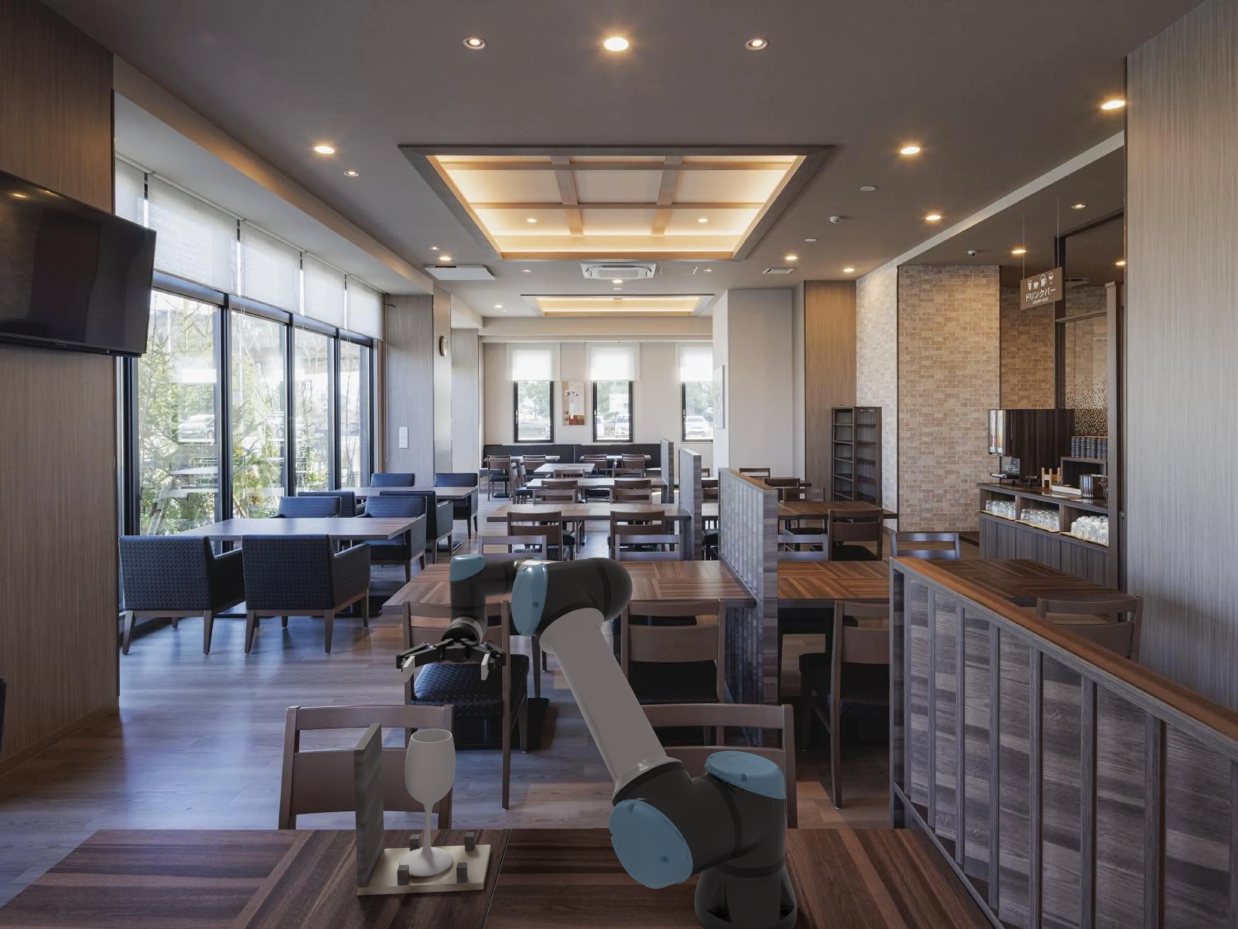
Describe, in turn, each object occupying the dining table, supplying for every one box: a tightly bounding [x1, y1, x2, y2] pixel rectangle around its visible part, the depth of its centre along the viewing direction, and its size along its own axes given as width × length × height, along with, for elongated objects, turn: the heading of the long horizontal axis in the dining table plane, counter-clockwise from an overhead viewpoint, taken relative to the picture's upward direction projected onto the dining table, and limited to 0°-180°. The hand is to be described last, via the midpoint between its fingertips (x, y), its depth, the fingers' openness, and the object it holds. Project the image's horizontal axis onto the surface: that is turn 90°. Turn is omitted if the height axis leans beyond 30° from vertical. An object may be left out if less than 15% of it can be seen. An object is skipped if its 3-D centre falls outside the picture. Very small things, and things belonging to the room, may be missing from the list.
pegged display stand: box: [353, 721, 492, 896], centre depth 125 cm, size 20×11×23 cm, turn 93°
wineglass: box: [399, 728, 457, 876], centre depth 125 cm, size 9×9×21 cm
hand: (444, 673), depth 134 cm, fingers open, 13 cm apart
